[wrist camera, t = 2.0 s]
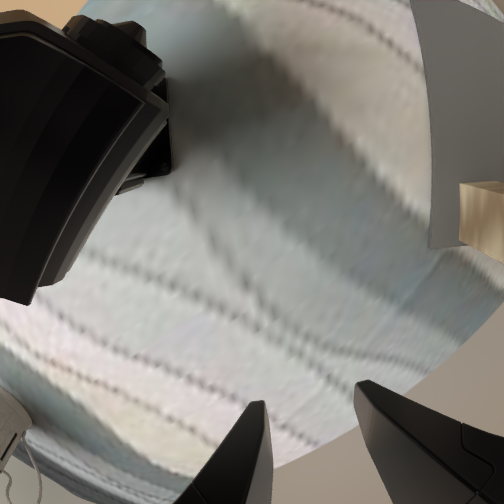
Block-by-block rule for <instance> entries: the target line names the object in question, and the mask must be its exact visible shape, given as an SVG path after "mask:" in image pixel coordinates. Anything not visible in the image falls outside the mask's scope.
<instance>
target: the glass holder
mask: <svg viewBox="0 0 504 504" xmlns="http://www.w3.org/2000/svg"><path fill="white" fill-rule="evenodd" d="M31 427H32V421H31V418H30V416H29V415H28V413H27V412H26V410H25V409H24V408H23V406H22V405H21V404H20V403H19V402H18V401H17V400H16V399H15V398H14V397H13V396H12V395H11V394H10V393H9V392H8V391H6V390H5V389H4V388H2V387H1V386H0V474H1V473H2V472H3V473H4V474H6V475H7V476H8V477H9V483H8V485H7V489H6V497H7V500H8V502H9V504H12V503H11V501H10V498H9V489H10V487H11V484H12V479H11V476H10V475H9V474H8V473H7V472H6V471H4V470H3V469H4V467H5V466H6V464H7V462H8V460H9V458H10V457H11V455H12V453H13V451H14V449H15V448H16V446H17V444H18V442H19V441H20V439H21V437H22V440H23V443H24V446H25V448H26V450H27V452H28V454H29V456H30V458H31V460H32V463H33V465H34V467H35V470H36V472H37V476H38V480H39V498H38V501H37V504H40V501H41V496H42V481H41V476H40V472H39V470H38V467H37V465H36V463H35V461H34V459H33V456H32V454H31V452H30V450H29V448H28V446H27V444H26V441H25V438H24V437H25V435H26V430H28V429H30V428H31Z"/></svg>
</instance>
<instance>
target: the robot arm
mask: <svg viewBox="0 0 504 504" xmlns="http://www.w3.org/2000/svg"><path fill="white" fill-rule="evenodd" d="M165 74H166V72H165V71H164V70H163V69H162V60H161V59H160V58H159V57H157V56H156V55H155V54H153V53H152V52H151V51H150V50H148V49H147V45H146V30H145V29H144V28H143V27H142V26H141V25H139V24H138V23H136V22H134V21H126V22H121V23H115V24H110V23H108V22H106V21H104V20H100V19H97V20H95V21H94V20H92V19H91V18H88V17H86V16H84V15H77V16H73V17H72V18H71V19H70V20H69V22H68V23H67V24H66V25H65V27H64V28H63V29H62V30H61V29H59V28H57V27H55V26H54V25H52V24H50V23H48V22H47V21H45V20H43V19H41V18H39V17H37V16H36V15H34V14H32V13H30V12H28V11H25V10H12V11H6V12H1V13H0V298H4V299H7V300H10V301H13V302H16V303H19V304H23V305H26V306H28V305H30V304H31V302H32V299H33V297H34V294H35V291H36V289H37V287H43V286H49V285H53V284H55V283H57V282H59V281H61V280H63V278H64V276H65V274H66V273H67V272H68V271H69V270H70V269H71V267H72V265H73V264H74V262H75V260H76V259H77V257H78V255H79V253H80V252H81V250H82V248H83V246H84V244H85V243H86V241H87V239H88V237H89V236H90V234H91V232H92V230H93V229H94V227H95V225H96V224H97V222H98V220H99V219H100V217H101V216H102V214H103V212H104V211H105V209H106V208H107V206H108V204H109V203H110V201H111V200H112V198H113V197H114V196H115V195H119V194H122V193H125V192H128V191H130V190H133V189H136V188H139V187H141V186H142V185H143V183H144V179H143V178H150V177H157V176H165V175H168V174H170V173H171V172H172V171H173V168H174V164H173V153H172V141H171V129H170V108H169V97H168V82H167V79H166V78H165ZM161 81H162V84H161V85H160V86H157V85H158V84H159V83H160V82H161ZM165 163H166V164H167V165H168V170H167V171H164V170H163V169H162V165H163V164H165ZM354 408H355V412H356V415H357V418H358V421H359V425H360V428H361V431H362V434H363V438H364V440H365V444H366V446H367V449H368V451H369V453H370V455H371V458H372V459H373V462H374V464H375V466H376V468H377V470H378V472H379V475H380V477H381V479H382V481H383V483H384V485H385V487H386V490H387V492H388V494H389V496H390V498H391V500H392V502H393V504H504V437H502V436H498V435H494V434H491V433H488V432H485V431H483V430H480V429H478V428H475V427H472V426H470V425H467V424H465V423H462V424H461V422H459V421H457V420H455V419H452V418H450V417H448V416H445V415H443V414H441V413H439V412H436V411H434V410H432V409H430V408H427V407H425V406H423V405H421V404H418V403H417V402H414V401H412V400H410V399H408V398H406V397H403V396H402V395H399V394H397V393H395V392H393V391H391V390H389V389H387V388H385V387H383V386H381V385H379V384H377V383H375V382H373V381H371V380H364V381H360V382H357V383H356V384H355V389H354ZM272 482H273V454H272V444H271V435H270V426H269V419H268V414H267V409H266V404H265V401H263V400H260V401H252V402H250V403H249V404H248V406H247V407H246V409H245V410H244V412H243V413H242V414H241V416H240V417H239V419H238V420H237V422H236V423H235V424H234V426H233V427H232V429H231V430H230V431H229V433H228V434H227V436H226V437H225V438H224V440H223V441H222V443H221V444H220V445H219V447H218V448H217V449H216V451H215V452H214V453H213V455H212V456H211V457H210V459H209V460H208V461H207V463H206V464H205V465H204V467H203V468H202V469H201V470H200V472H199V473H198V474H197V476H196V477H195V478H194V479H193V481H192V483H190V484H189V485H188V486H187V487H186V489H185V490H184V491H183V492H182V494H181V495H180V496H179V497H178V498H177V499H176V500H175V501H174V503H173V504H271V498H272Z"/></svg>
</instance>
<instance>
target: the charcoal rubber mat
mask: <svg viewBox="0 0 504 504" xmlns="http://www.w3.org/2000/svg"><path fill="white" fill-rule="evenodd" d="M410 3H411V7H412V11H413V15H414V19H415V23H416V27H417V32H418V36H419V41H420V46H421V52H422V57H423V63H424V70H425V77H426V84H427V92H428V102H429V112H430V126H431V147H432V194H431V215H430V229H429V241H428V248H430V249H436V248H446V247H457V246H467V244H465V243H463V242H461V241H460V240H459V226H460V183H471V182H485V181H498V182H502V183H504V23H503V22H501V21H499V20H497V19H495V18H494V17H492V16H490V15H488V14H486V13H484V12H482V11H480V10H478V9H476V8H474V7H471V6H469V5H467V4H465V3H462V2H460V1H458V0H410Z"/></svg>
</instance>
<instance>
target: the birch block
mask: <svg viewBox="0 0 504 504" xmlns="http://www.w3.org/2000/svg"><path fill="white" fill-rule="evenodd" d="M459 240H460V241H461V242H463V243H465V244H467V245H469V246H471V247H473V248H475V249H477V250H479V251H481V252H482V253H484V254H486V255H488V256H490V257H492V258H493V259H495V260H497V261H499V262H500V263H502V264H504V183H502V182H498V181H485V182H471V183H460V226H459Z"/></svg>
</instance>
